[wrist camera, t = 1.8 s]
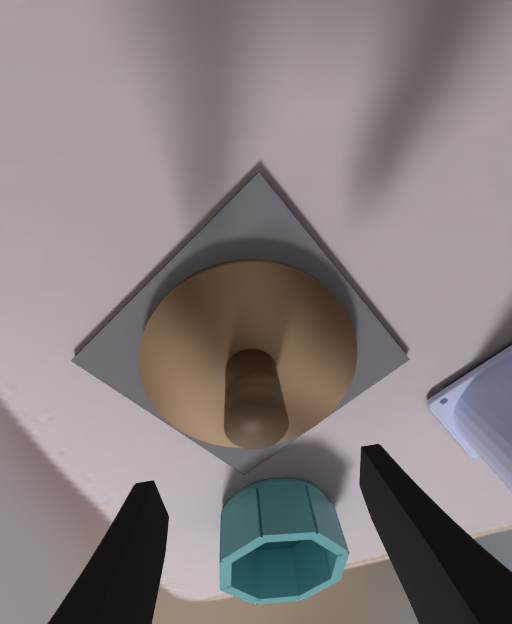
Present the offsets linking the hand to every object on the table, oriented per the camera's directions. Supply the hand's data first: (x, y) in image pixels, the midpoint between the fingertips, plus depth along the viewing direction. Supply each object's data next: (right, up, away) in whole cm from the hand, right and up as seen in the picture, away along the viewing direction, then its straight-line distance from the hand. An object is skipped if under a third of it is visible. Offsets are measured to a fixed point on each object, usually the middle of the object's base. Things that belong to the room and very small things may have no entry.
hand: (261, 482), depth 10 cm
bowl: (+1, -11, +14) cm, 18 cm away
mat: (-1, +3, +7) cm, 8 cm away
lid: (-1, +3, +7) cm, 8 cm away
